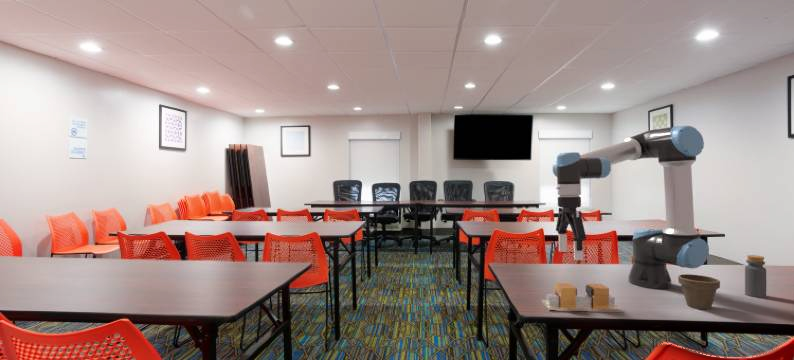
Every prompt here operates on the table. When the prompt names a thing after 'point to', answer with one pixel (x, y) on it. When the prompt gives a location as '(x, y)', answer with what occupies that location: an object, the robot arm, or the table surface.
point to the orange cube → (566, 294)
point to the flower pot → (699, 290)
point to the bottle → (755, 277)
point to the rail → (586, 300)
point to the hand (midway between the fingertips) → (570, 255)
